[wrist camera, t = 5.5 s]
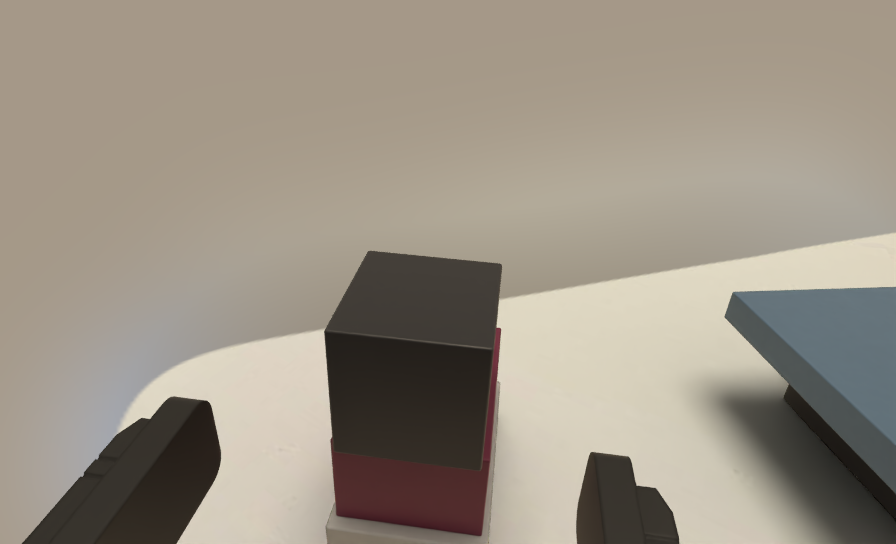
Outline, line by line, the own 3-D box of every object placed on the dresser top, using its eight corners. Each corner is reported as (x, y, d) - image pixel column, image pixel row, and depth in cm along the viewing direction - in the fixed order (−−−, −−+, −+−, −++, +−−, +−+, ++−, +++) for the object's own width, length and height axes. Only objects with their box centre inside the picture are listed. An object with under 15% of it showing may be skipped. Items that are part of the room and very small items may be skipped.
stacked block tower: (483, 590, 17) (512, 351, 12) (328, 567, 17) (305, 328, 13) (498, 389, 24) (520, 199, 20) (391, 376, 25) (390, 187, 20)
